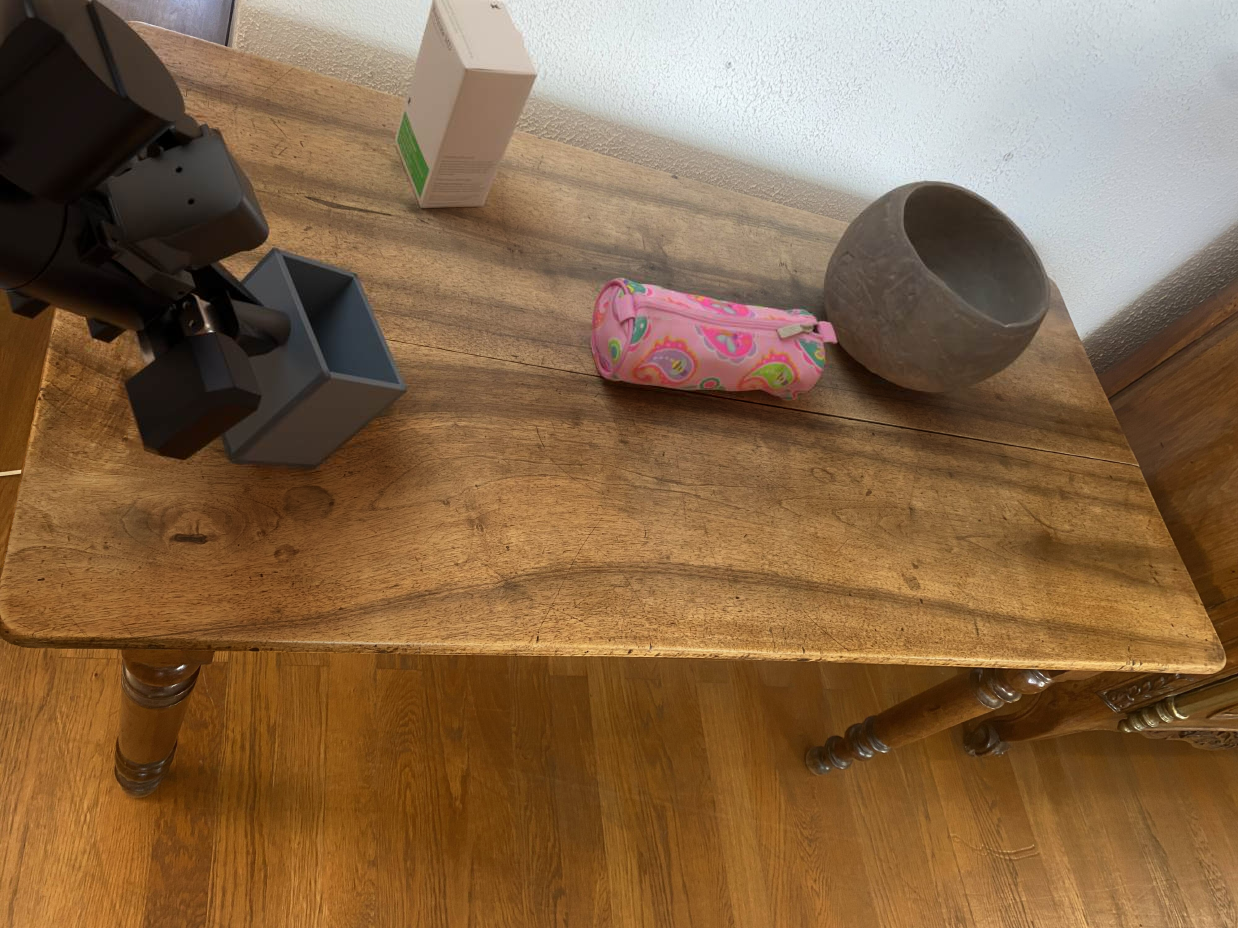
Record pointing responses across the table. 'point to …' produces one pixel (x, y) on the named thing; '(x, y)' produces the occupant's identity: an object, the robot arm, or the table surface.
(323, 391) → the grey box with peg
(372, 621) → the table surface
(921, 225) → the bowl
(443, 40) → the cosmetic box
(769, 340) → the pencil case
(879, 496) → the table surface
